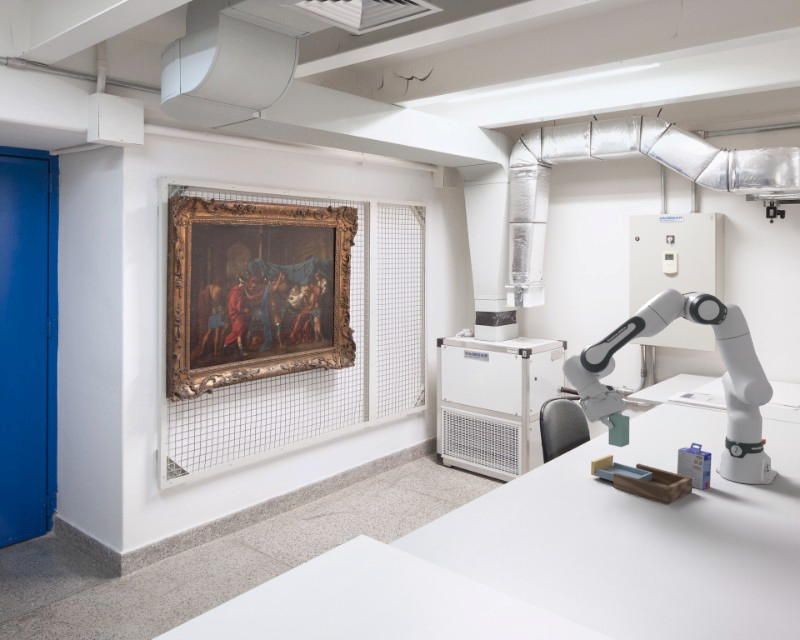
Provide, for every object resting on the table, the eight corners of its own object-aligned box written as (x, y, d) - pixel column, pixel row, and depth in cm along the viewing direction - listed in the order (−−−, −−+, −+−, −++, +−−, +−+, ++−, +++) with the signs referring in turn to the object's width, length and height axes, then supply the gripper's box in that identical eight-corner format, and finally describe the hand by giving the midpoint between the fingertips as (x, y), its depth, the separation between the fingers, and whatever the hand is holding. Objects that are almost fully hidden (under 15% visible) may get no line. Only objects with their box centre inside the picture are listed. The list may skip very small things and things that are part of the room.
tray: (610, 467, 243) (610, 454, 242) (652, 479, 229) (653, 466, 229) (591, 474, 235) (591, 461, 235) (634, 487, 222) (634, 473, 221)
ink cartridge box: (711, 486, 226) (712, 446, 224) (703, 490, 222) (704, 449, 221) (684, 479, 233) (685, 439, 232) (675, 482, 230) (677, 442, 229)
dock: (638, 476, 236) (638, 463, 236) (691, 492, 221) (692, 478, 220) (613, 487, 226) (613, 473, 226) (667, 504, 211) (668, 489, 210)
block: (616, 441, 232) (616, 414, 231) (629, 444, 228) (629, 416, 227) (608, 444, 229) (608, 416, 228) (621, 447, 225) (621, 419, 224)
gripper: (582, 394, 226) (607, 427, 220) (615, 385, 239) (639, 416, 233) (571, 404, 230) (595, 437, 224) (604, 395, 243) (628, 425, 237)
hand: (618, 426), depth 228 cm, fingers closed on block, 5 cm apart
